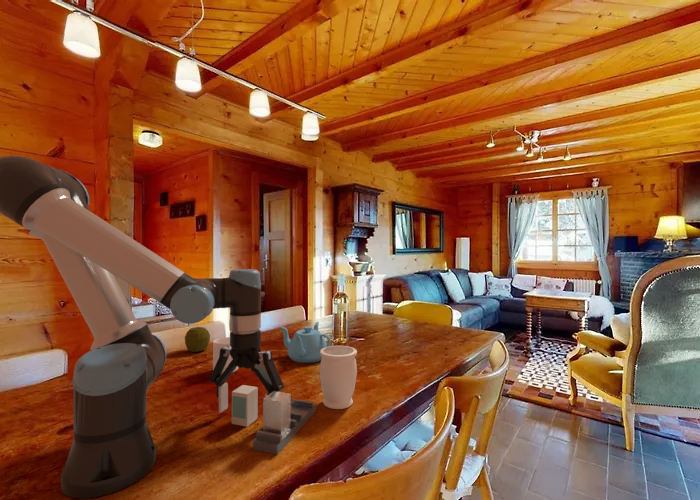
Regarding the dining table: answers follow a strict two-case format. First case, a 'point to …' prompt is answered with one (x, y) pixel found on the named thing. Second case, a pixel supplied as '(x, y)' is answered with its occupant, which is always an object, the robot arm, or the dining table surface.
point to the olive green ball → (197, 339)
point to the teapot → (305, 344)
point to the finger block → (244, 405)
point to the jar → (338, 375)
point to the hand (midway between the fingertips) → (245, 414)
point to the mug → (216, 351)
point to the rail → (295, 425)
